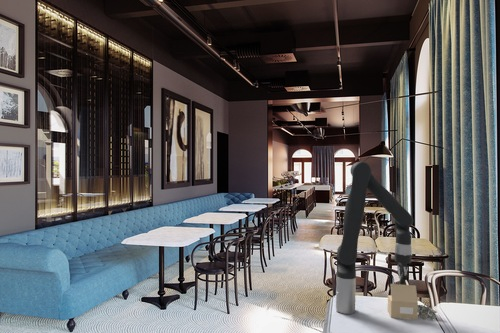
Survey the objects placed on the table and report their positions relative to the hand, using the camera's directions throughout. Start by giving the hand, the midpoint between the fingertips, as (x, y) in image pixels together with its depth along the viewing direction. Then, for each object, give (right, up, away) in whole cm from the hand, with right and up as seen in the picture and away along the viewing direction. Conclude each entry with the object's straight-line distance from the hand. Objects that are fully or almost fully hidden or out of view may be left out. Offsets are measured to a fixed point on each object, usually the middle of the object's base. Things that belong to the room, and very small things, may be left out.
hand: (402, 287), depth 182 cm
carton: (0, -13, -1) cm, 14 cm away
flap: (-1, -2, -3) cm, 4 cm away
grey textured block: (+11, -14, 0) cm, 18 cm away
